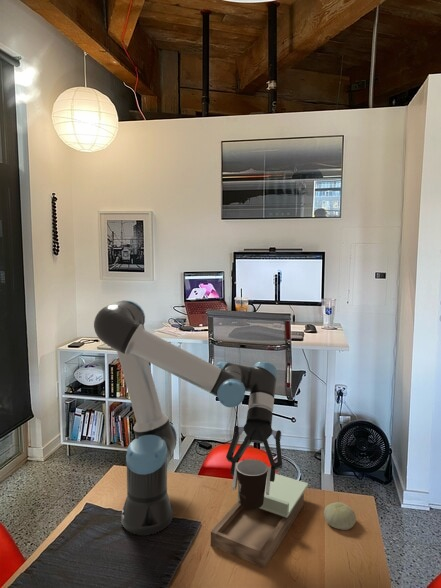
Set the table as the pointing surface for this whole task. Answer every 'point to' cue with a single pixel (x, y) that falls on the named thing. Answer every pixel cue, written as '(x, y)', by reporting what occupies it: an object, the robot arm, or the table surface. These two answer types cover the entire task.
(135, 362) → the robot arm
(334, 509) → the sea urchin shell
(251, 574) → the table surface
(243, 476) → the coffee mug
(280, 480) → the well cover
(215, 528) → the brown wooden shallow box
